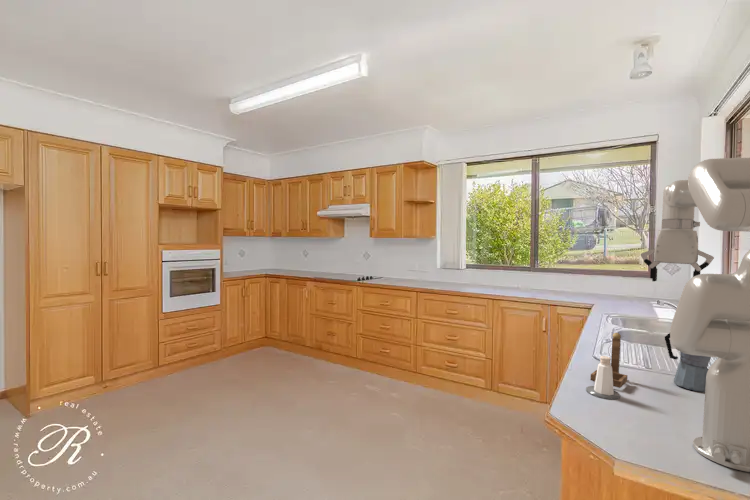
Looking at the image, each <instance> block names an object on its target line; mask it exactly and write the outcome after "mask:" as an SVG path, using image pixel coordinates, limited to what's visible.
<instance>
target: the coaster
mask: <svg viewBox="0 0 750 500" xmlns="http://www.w3.org/2000/svg"><path fill="white" fill-rule="evenodd" d="M594 386H595V385H589V386H586V388H585V391H586V392H587V393H588V395H591V396H594V397H596V398H600V399H605V400H617V399H620V398H621V396H620V394H621V393H619V392H618V391H616V390H614V395H609V396H608V395H602V394H599V393H597V392H595V390H594Z"/></svg>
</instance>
